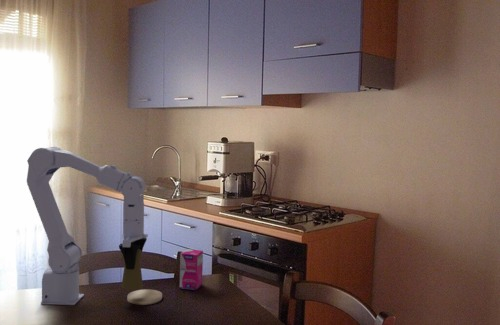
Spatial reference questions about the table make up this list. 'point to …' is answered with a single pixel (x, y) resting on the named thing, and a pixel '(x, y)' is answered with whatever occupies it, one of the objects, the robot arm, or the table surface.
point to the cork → (133, 275)
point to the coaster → (144, 297)
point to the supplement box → (191, 269)
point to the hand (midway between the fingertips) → (133, 266)
